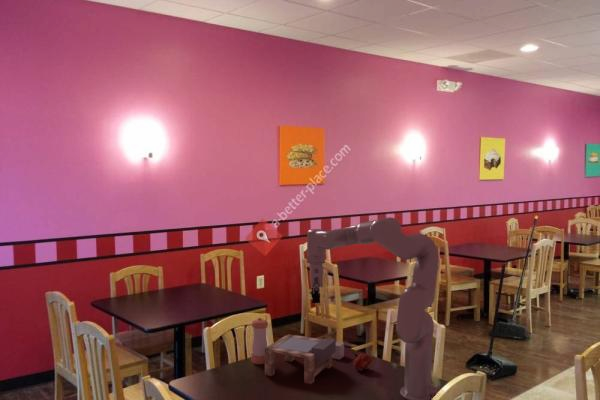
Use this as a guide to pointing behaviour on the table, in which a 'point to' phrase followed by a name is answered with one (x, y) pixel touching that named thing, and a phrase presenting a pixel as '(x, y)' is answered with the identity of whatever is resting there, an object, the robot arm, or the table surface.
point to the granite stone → (339, 351)
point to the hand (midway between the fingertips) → (315, 299)
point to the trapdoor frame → (309, 367)
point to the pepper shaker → (259, 341)
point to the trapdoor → (311, 347)
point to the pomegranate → (362, 361)
